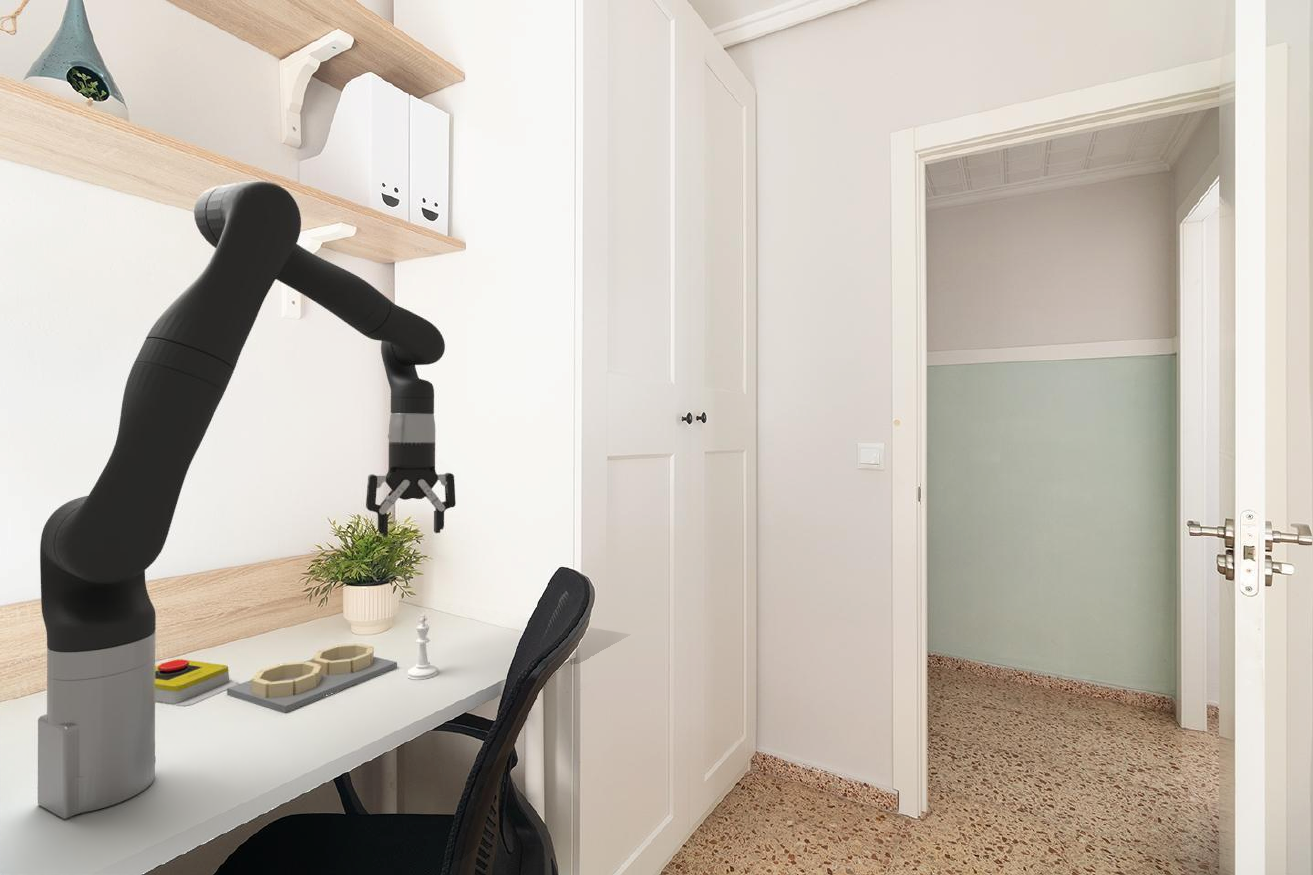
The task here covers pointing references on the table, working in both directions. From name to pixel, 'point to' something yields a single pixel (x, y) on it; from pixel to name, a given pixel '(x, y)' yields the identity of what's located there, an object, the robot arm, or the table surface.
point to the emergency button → (189, 681)
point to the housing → (312, 677)
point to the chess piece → (422, 655)
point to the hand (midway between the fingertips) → (411, 534)
